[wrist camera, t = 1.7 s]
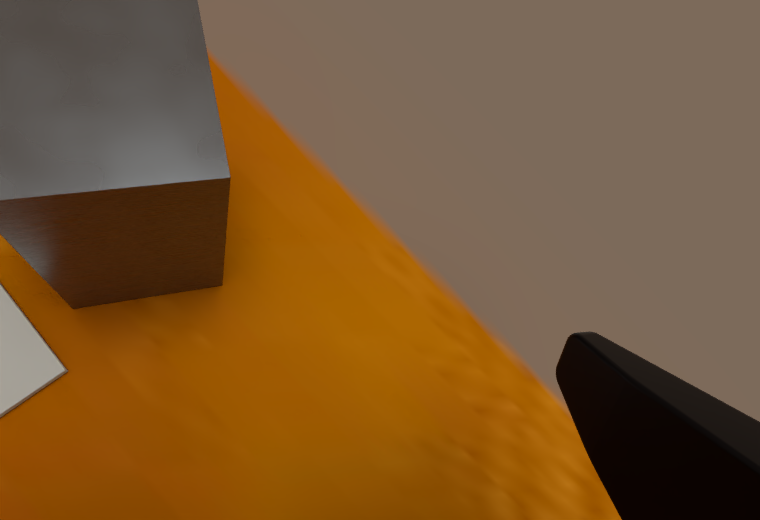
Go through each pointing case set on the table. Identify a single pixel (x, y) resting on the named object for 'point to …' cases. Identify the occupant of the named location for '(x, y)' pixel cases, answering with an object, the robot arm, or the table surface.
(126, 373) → the table surface
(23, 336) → the mat
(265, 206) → the table surface
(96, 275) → the tin
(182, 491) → the table surface
